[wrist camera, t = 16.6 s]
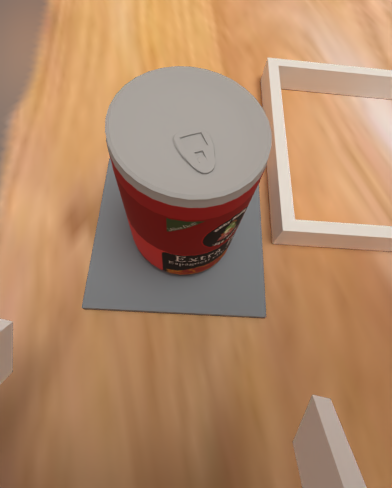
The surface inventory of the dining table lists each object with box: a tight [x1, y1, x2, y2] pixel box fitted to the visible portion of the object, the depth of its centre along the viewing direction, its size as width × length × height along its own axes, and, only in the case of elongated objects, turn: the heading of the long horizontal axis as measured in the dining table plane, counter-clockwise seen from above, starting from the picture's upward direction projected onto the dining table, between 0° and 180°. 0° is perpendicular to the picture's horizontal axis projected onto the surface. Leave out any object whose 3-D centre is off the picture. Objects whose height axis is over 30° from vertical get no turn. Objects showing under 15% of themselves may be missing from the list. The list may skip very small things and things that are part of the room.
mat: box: [82, 159, 266, 318], centre depth 24 cm, size 13×13×1 cm
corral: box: [261, 58, 392, 252], centre depth 27 cm, size 19×19×2 cm
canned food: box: [105, 66, 272, 275], centre depth 18 cm, size 8×8×11 cm
